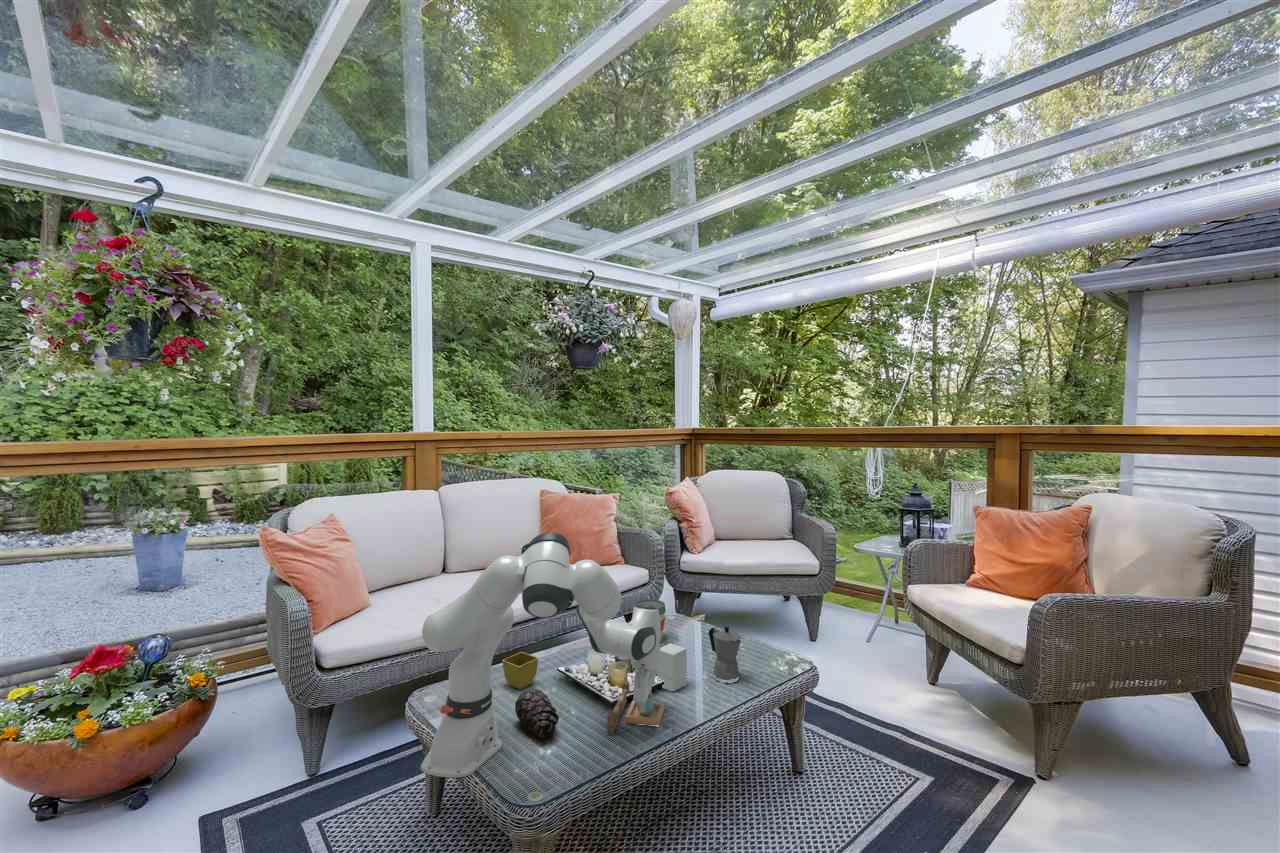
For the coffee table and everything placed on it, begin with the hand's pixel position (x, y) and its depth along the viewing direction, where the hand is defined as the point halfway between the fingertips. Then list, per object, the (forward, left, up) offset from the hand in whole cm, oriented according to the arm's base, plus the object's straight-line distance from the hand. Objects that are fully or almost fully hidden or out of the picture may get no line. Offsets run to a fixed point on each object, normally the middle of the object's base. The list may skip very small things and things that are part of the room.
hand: (645, 703), depth 178 cm
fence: (-1, +8, -4) cm, 9 cm away
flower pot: (+12, +45, -4) cm, 47 cm away
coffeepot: (+32, -22, -4) cm, 39 cm away
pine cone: (-13, +29, -4) cm, 32 cm away
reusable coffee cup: (+59, +9, -4) cm, 60 cm away
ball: (0, 0, -3) cm, 3 cm away
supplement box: (+22, -5, -4) cm, 23 cm away
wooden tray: (0, 0, -4) cm, 4 cm away
